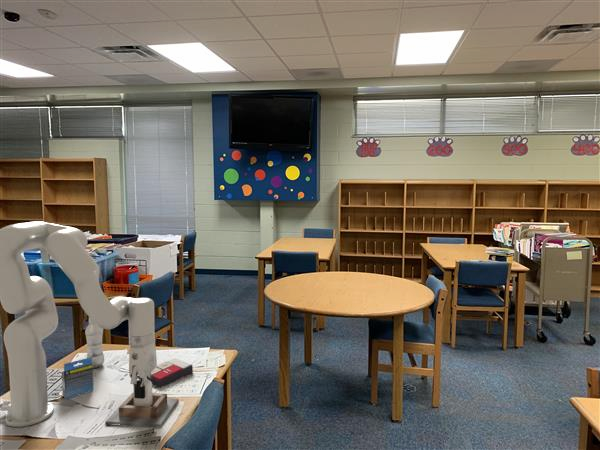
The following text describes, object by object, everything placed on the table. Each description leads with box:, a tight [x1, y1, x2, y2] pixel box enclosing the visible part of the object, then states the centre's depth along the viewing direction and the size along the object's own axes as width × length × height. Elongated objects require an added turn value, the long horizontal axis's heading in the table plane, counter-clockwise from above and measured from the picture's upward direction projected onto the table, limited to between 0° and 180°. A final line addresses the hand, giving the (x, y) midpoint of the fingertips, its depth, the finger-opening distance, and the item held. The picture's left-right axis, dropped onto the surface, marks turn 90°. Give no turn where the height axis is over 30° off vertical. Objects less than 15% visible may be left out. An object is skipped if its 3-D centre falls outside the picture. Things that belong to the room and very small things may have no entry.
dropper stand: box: [104, 391, 179, 428], centre depth 130 cm, size 17×15×4 cm
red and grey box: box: [151, 357, 194, 389], centre depth 155 cm, size 11×4×15 cm
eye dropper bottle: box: [132, 377, 153, 406], centre depth 129 cm, size 4×6×12 cm
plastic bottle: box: [84, 316, 105, 369], centre depth 162 cm, size 6×7×20 cm
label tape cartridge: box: [61, 357, 94, 400], centre depth 141 cm, size 9×4×12 cm, turn 132°
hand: (142, 394), depth 130 cm, fingers closed on eye dropper bottle, 3 cm apart
